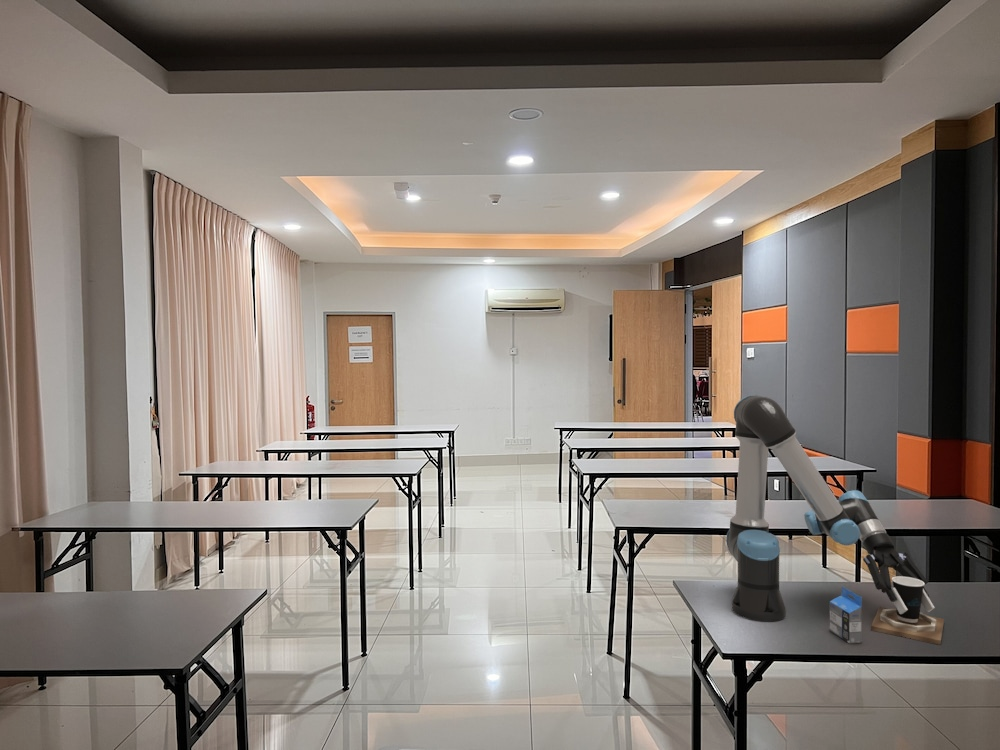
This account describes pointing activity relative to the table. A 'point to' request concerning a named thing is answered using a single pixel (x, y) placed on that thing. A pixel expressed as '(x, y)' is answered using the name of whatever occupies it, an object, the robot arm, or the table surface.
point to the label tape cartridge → (846, 616)
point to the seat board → (909, 626)
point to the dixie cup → (909, 597)
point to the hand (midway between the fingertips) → (917, 610)
